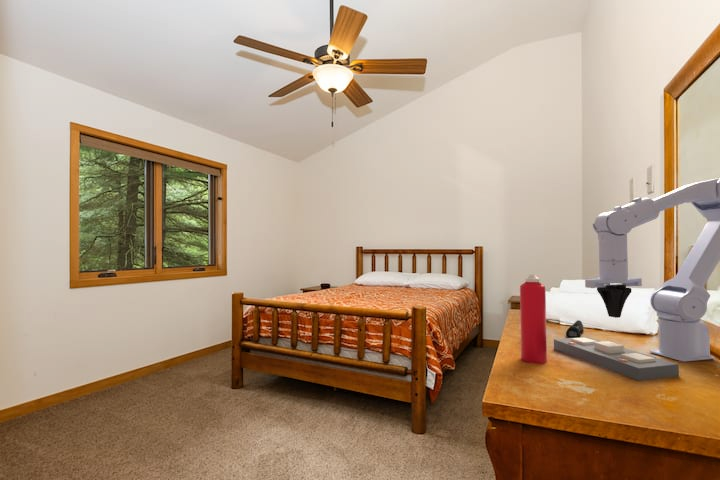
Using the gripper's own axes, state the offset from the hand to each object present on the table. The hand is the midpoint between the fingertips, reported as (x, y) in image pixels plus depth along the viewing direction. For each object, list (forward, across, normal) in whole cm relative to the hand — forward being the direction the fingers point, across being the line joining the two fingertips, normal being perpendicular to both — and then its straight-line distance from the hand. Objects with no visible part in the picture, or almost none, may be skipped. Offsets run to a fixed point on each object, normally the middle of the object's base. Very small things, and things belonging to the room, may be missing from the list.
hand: (614, 316), depth 89 cm
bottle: (+10, +21, -2) cm, 23 cm away
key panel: (+9, +5, +3) cm, 11 cm away
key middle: (+9, +5, +3) cm, 11 cm away
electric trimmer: (+10, -9, -22) cm, 25 cm away
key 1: (+10, +5, -4) cm, 12 cm away
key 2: (+10, +5, +10) cm, 15 cm away
